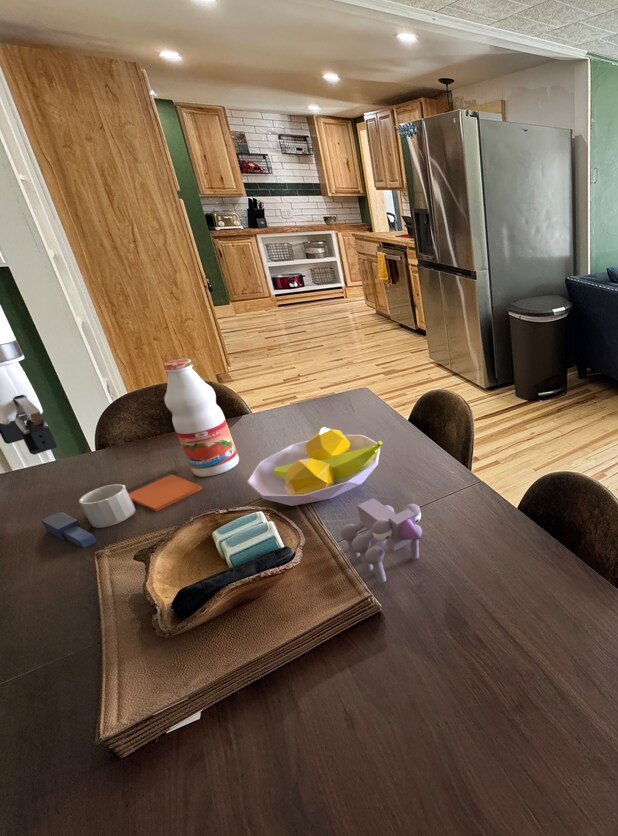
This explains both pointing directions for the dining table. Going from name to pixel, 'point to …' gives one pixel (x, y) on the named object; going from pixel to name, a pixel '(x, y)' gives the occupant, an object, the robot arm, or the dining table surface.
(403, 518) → the toy sheep
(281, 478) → the fruit bowl
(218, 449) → the fruit juice
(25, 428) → the robot arm
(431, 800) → the dining table surface
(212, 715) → the dining table surface
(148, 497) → the orange tile
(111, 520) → the white round cup
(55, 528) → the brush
